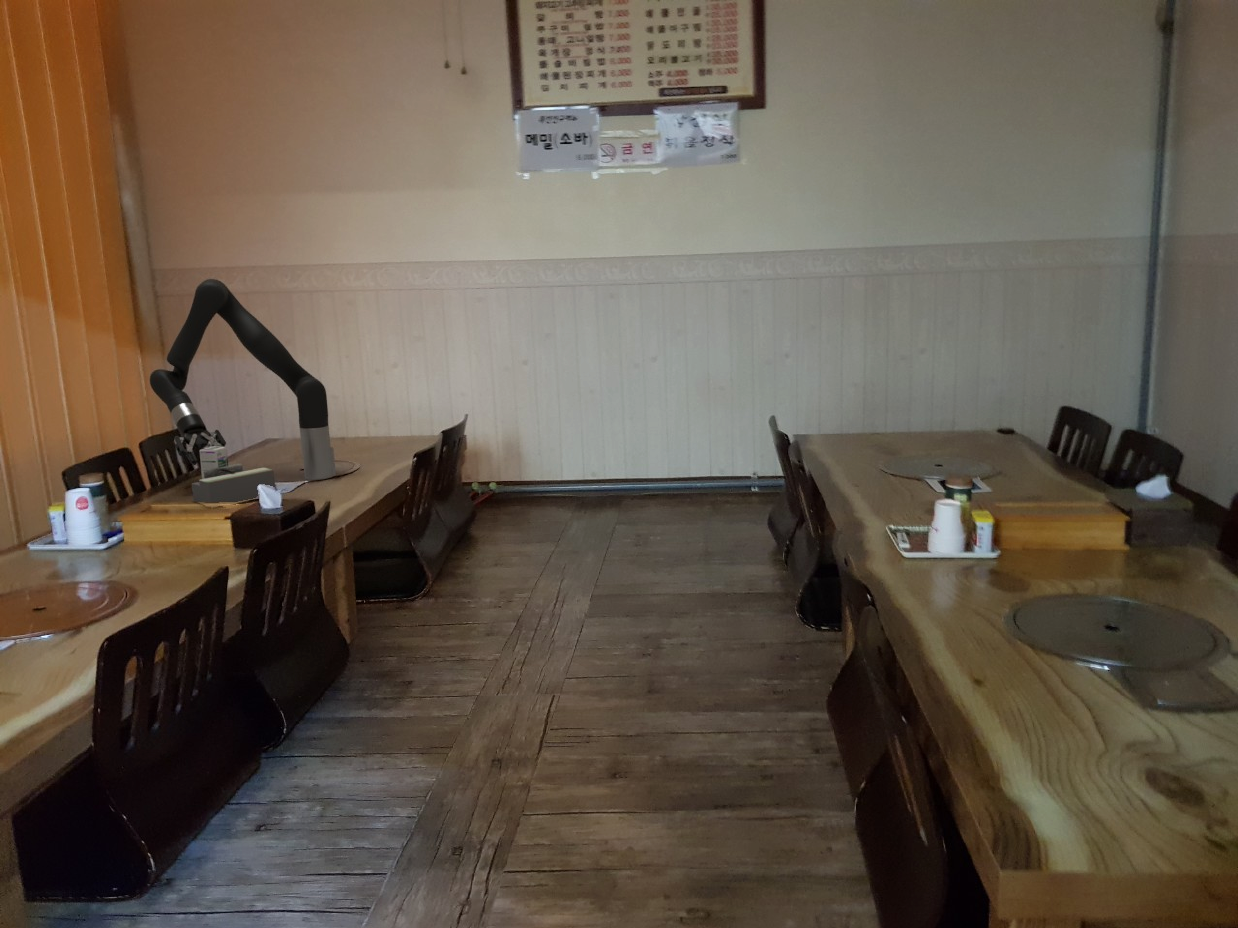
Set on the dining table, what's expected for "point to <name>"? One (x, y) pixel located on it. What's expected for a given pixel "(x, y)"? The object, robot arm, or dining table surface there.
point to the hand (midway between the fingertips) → (209, 461)
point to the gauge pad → (221, 471)
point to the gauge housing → (232, 486)
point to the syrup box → (213, 457)
